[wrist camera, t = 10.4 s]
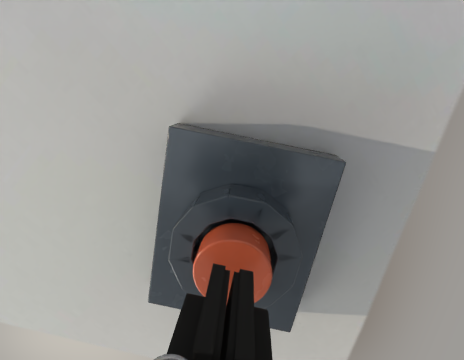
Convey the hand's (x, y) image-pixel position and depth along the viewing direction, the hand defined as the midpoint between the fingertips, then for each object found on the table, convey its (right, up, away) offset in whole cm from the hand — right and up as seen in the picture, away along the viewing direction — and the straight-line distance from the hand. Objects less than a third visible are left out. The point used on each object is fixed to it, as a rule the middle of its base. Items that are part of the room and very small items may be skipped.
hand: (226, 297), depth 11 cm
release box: (+1, +2, +6) cm, 6 cm away
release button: (0, +1, +3) cm, 3 cm away
